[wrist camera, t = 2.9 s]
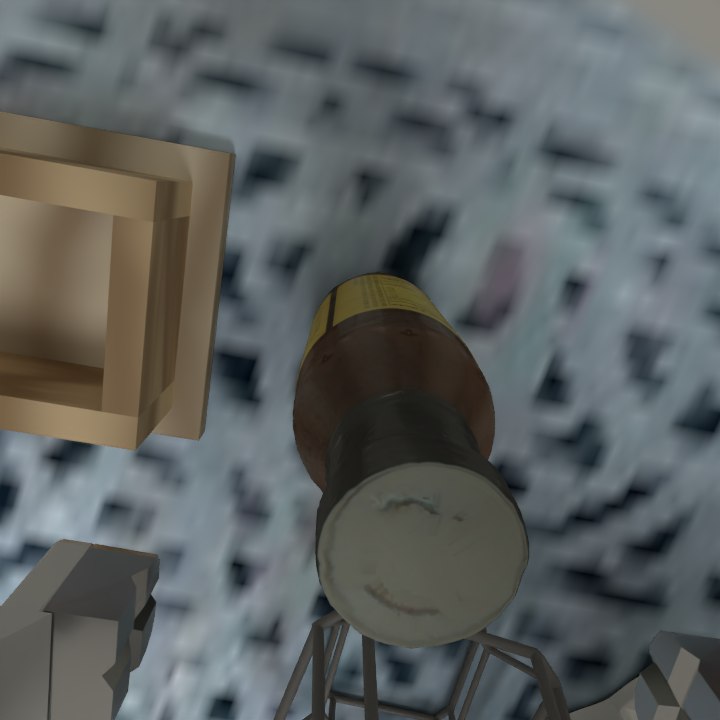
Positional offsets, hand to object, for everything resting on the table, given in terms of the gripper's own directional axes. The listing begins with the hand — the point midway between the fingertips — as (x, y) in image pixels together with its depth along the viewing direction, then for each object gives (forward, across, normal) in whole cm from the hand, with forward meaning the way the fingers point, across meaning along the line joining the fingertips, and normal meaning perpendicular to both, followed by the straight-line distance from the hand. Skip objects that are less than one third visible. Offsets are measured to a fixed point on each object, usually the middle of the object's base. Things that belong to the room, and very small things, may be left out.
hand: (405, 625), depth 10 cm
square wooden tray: (+21, +15, 0) cm, 26 cm away
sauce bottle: (+22, 0, 0) cm, 22 cm away
